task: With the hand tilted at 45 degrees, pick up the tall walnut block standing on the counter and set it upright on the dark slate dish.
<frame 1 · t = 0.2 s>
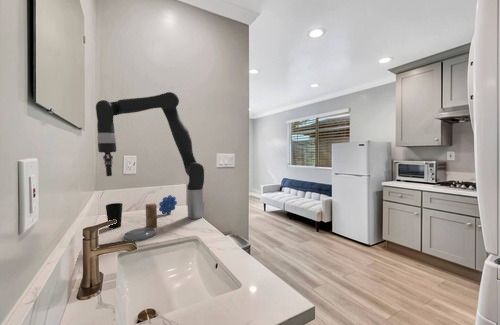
hand: (109, 175, 111), 28 cm above the table, tool pointing down, fingers open, 8 cm apart
slate dish: (140, 235, 107), on the table
cup: (114, 227, 119), on the table
walnut block: (151, 226, 120), on the table
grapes: (167, 213, 145), on the table
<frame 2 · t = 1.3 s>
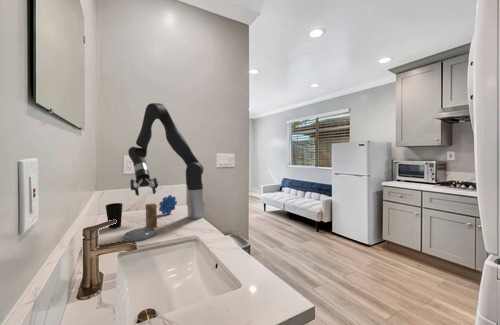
hand: (146, 194, 128), 16 cm above the table, tool tilted 45°, fingers open, 8 cm apart
nothing on the table moved.
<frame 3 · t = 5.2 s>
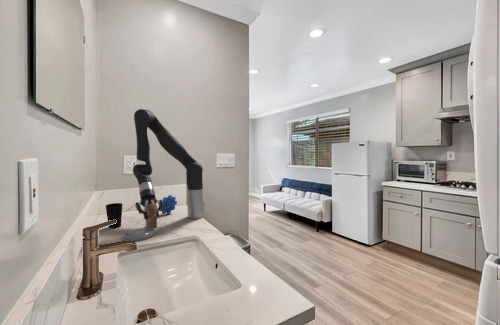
hand: (152, 218, 118), 5 cm above the table, tool tilted 45°, fingers closed on walnut block, 4 cm apart
walnut block: (151, 226, 120), on the table, touching gripper
everything else where it was.
when the fingers open (8 cm above the table, at t = 9.9 s): walnut block drops 1 cm, resting on slate dish.
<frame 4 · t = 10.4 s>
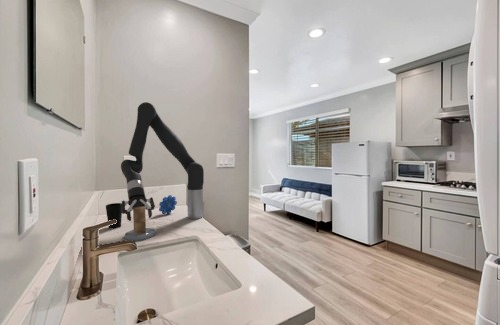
hand: (140, 218, 106), 9 cm above the table, tool tilted 45°, fingers open, 8 cm apart
walnut block: (139, 232, 107), point 1 cm above the table, touching slate dish
everything else where it was.
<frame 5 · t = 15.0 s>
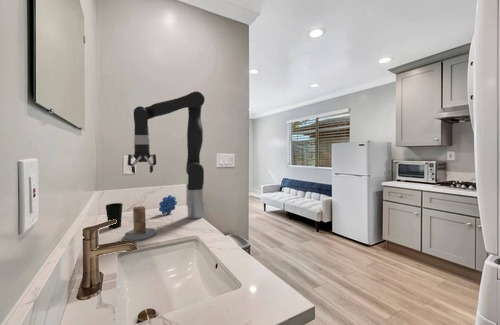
hand: (142, 173, 125), 28 cm above the table, tool pointing down, fingers open, 8 cm apart
nothing on the table moved.
at the end: walnut block inside the target area on the slate dish (0.3 cm from its centre), point 1.5 cm above the slate dish's base; walnut block tilted 0°; the gripper is holding nothing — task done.
